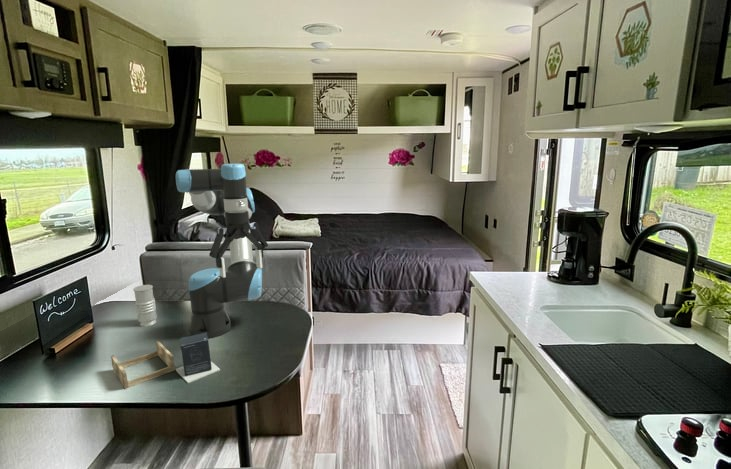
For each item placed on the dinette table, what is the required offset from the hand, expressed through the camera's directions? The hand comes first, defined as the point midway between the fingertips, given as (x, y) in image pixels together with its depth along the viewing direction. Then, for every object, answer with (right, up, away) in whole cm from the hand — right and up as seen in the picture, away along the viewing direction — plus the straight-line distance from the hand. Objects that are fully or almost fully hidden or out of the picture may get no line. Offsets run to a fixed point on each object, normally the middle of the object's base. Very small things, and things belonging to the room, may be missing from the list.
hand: (241, 271), depth 137 cm
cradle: (-28, -30, -11) cm, 42 cm away
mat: (-10, -30, -11) cm, 34 cm away
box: (-10, -30, -11) cm, 34 cm away
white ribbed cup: (-45, -23, +23) cm, 55 cm away
